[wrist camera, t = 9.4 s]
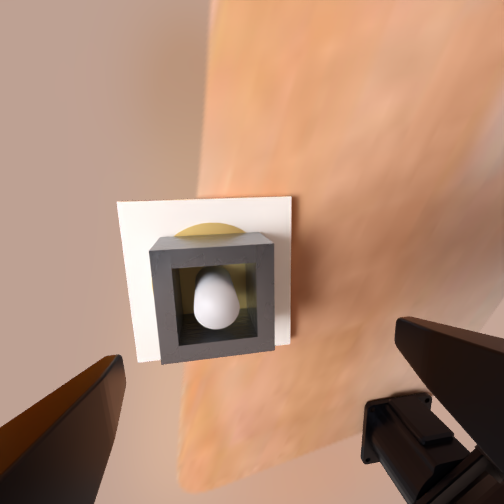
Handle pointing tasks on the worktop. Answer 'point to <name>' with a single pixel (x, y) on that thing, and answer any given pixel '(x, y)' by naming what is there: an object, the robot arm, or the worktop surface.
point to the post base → (207, 277)
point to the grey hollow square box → (186, 325)
